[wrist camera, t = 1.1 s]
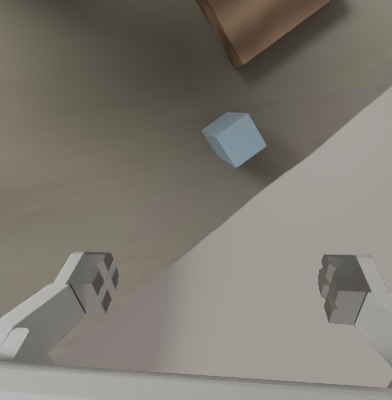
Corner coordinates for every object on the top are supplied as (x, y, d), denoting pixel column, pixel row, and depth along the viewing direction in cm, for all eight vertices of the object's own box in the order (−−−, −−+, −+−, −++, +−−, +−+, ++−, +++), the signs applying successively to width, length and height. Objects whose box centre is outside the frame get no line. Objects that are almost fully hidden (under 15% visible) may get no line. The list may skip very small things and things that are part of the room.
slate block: (200, 130, 46) (215, 136, 37) (226, 111, 46) (248, 113, 37) (217, 156, 48) (236, 168, 39) (242, 138, 48) (267, 145, 38)
